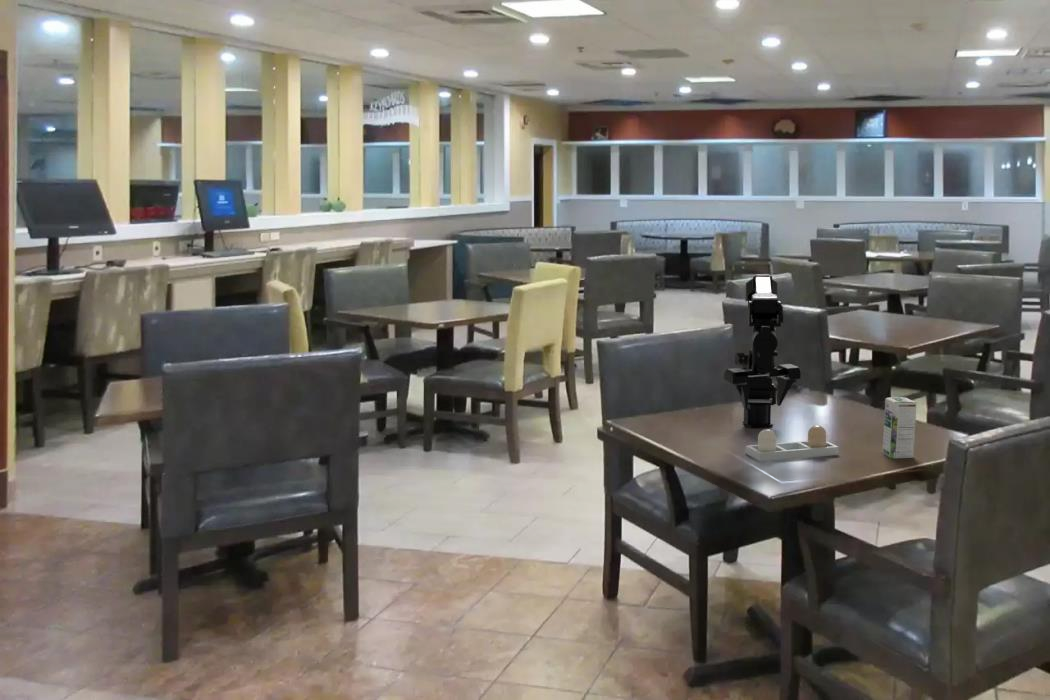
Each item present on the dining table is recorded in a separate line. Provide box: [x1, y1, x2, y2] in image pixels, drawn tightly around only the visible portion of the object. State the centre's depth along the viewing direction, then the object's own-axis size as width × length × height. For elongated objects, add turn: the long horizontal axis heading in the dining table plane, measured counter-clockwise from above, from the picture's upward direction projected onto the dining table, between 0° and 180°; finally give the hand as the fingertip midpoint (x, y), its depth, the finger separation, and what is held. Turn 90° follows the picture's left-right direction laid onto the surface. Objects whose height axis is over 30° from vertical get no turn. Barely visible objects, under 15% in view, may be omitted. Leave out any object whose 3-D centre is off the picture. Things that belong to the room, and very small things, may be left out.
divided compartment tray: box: [745, 440, 840, 462], centre depth 258 cm, size 21×8×2 cm, turn 104°
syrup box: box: [882, 396, 918, 459], centre depth 255 cm, size 6×6×14 cm
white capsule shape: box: [757, 428, 777, 452], centre depth 256 cm, size 4×4×7 cm
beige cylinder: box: [807, 424, 827, 448], centre depth 259 cm, size 4×4×7 cm
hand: (762, 407), depth 263 cm, fingers open, 9 cm apart
